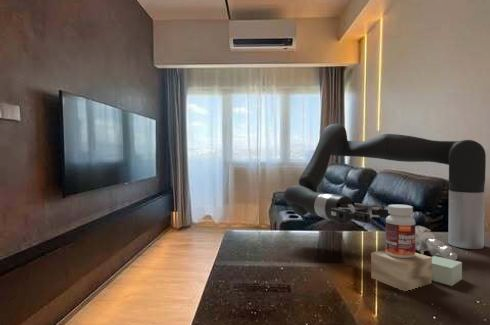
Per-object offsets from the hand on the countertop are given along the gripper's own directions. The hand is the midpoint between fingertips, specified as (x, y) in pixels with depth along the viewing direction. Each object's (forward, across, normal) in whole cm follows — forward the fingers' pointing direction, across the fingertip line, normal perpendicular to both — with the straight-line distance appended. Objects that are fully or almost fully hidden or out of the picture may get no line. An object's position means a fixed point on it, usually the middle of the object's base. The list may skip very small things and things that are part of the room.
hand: (381, 216), depth 78 cm
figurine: (-3, +24, +14) cm, 28 cm away
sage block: (+9, +10, +14) cm, 19 cm away
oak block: (+5, 0, +14) cm, 15 cm away
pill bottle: (+5, 0, +8) cm, 10 cm away
